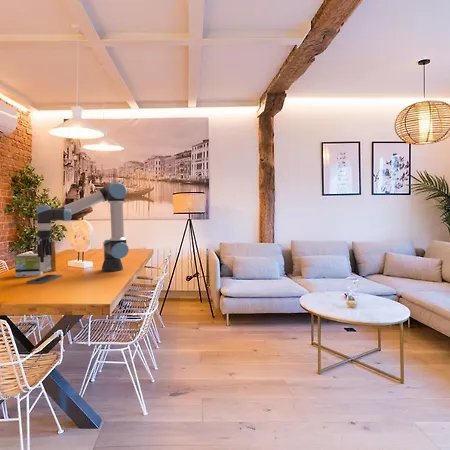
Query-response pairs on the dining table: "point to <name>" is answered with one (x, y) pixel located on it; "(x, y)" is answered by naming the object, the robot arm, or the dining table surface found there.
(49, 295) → the dining table surface
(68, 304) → the dining table surface
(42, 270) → the block with top tab
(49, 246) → the robot arm
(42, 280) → the grey flat frame
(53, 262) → the coffee package
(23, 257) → the tea box
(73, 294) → the dining table surface
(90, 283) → the dining table surface
